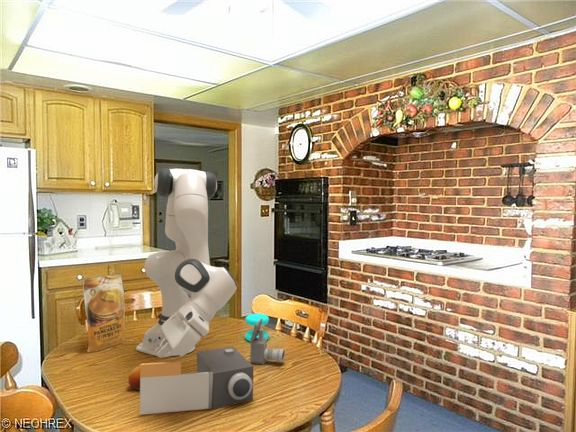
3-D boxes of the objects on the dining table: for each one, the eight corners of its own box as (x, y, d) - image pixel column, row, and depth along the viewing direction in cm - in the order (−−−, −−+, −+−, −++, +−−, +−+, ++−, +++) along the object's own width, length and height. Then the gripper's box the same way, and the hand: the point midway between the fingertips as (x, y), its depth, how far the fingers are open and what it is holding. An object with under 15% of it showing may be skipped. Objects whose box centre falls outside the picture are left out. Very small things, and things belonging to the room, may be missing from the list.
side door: (139, 414, 107) (140, 365, 107) (140, 412, 108) (140, 363, 108) (212, 408, 111) (212, 360, 111) (212, 406, 112) (212, 359, 112)
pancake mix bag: (76, 351, 152) (77, 278, 151) (120, 337, 168) (121, 271, 167) (87, 355, 148) (87, 280, 147) (131, 341, 165) (131, 273, 164)
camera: (280, 369, 140) (281, 327, 139) (248, 366, 142) (249, 324, 142) (285, 360, 148) (286, 320, 148) (255, 357, 150) (255, 317, 150)
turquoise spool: (256, 320, 163) (240, 315, 170) (255, 345, 163) (240, 339, 170) (273, 316, 170) (258, 311, 177) (273, 339, 170) (257, 333, 177)
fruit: (143, 392, 118) (135, 365, 120) (129, 399, 122) (120, 373, 124) (165, 382, 125) (156, 357, 127) (150, 389, 128) (142, 365, 130)
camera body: (196, 382, 128) (197, 349, 128) (232, 375, 133) (232, 343, 133) (215, 413, 110) (216, 374, 109) (256, 403, 115) (256, 366, 115)
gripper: (178, 300, 123) (144, 336, 119) (194, 319, 105) (155, 361, 101) (192, 313, 125) (159, 348, 121) (210, 334, 107) (172, 376, 103)
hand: (157, 354), depth 111 cm, fingers closed
